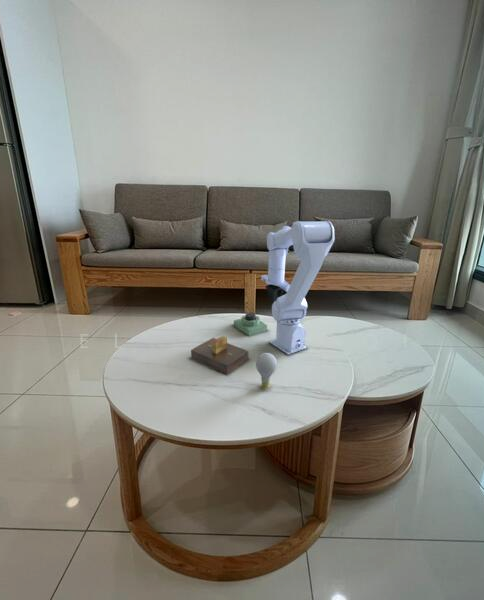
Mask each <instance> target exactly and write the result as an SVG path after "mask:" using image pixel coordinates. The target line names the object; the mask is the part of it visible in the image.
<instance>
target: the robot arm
mask: <svg viewBox="0 0 484 600" xmlns="http://www.w3.org/2000/svg"><path fill="white" fill-rule="evenodd" d="M334 243H335V227H334V225H333V223H332V222H331V221H330V220H325V221H300V220H296V221H295V222H292V225H291V226H289V225H284V226H282V229H278V230H277V231H276V232H272V231H269V232H268V234H267V235H266V246H267V250H268V265H267V274H263V275H261V276H260V277H261V281H262V282H265V284H267V285H265V289H266V291H267V293H268V296H269V300H270V305H271V314H272V318H273V319H274V320H275V322H276V329H275V330H276V331H275V332H276V333H275V339H273V340H270V341H269V343H270V344H271V345H273V346H274V347H276V348H277V349H279V350H280V351H281V352H283V353H285V354H286V355H291V354H294V353H297V352H299V351H302V350H305V349H307V346H306V334H307V331H306V328H305V327H304V326H303V325H302V324H301V322H302V319H304V318H305V317H306V315H307V309H308V302H307V300H306V299H307V298H306V296H307V294H308V292H309V290H310V289H311V286H312V285H313V283H314V281H315V279H316V277H317V275H318V274H319V272H320V270H321V267H322V265H323V262H324V260H325V258H326V257H327V255H328V254H329V252H330V250H331V249H332V246H333V245H334ZM291 246H292V248H293V252H294V255H295V256H294V257H296V259H298V260H300V262H299V265H298V267H297V268H296V272H294V273H295V274H294V276H293V278H292V280H291V283H289V282H287V281H286V280H285V273H286V258H287V256H288V251H289V248H290V247H291ZM284 292H286V293H285V294H283V293H284Z"/></svg>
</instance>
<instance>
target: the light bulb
mask: <svg viewBox="0 0 484 600" xmlns="http://www.w3.org/2000/svg"><path fill="white" fill-rule="evenodd" d="M277 367H278V361H277V358H276V356H275V355H274V354H272V353H271V352H263V353H261V354H259V355H258V356H257V358H256V360H255V369H256V370H257V372H258V373H259V375H260V377H261V379H260V380H261V388H263V389H268V388H269V387H270V386H271V385H270V381H271V377H272V375H273V374H274V373H275V372H276V370H277Z"/></svg>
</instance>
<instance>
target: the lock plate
mask: <svg viewBox="0 0 484 600" xmlns="http://www.w3.org/2000/svg"><path fill="white" fill-rule="evenodd" d="M216 339H217V338H216V337H212V338H210V339H208V340H206V341H205V342H203V343H201V344H199V345H197V346H196V347H194V348H191V349H190V353H191V354H190V356H191V359H192V360H193V361H196V362H198V363H201V364H203V365H205V366H207V367H209V368H212V369H214V370H217V371H218V372H221V373H223V374H225V375H228V374H230V373H232V372H233V371H234V370H235V369H237V368H238V367H240V366H241V365H242V364H244V363H245V362H247V361H248V360H249V350H247V349H244V348H242V347H239V346H236V345H234V344H231V343H229V342H227V348H226V349H224V350H222V351H221V352H219V353H217V354H214V353H212V342H213V341H214V340H216Z"/></svg>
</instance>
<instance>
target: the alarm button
mask: <svg viewBox="0 0 484 600" xmlns="http://www.w3.org/2000/svg"><path fill="white" fill-rule="evenodd" d="M245 315H246V320H249V321H253V320H255V315H256V313H254V312H247V313H245Z"/></svg>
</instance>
